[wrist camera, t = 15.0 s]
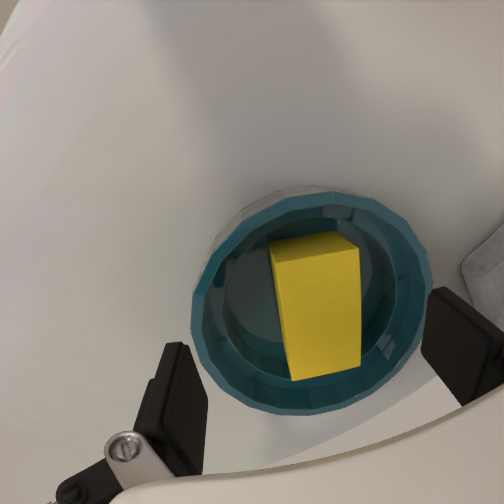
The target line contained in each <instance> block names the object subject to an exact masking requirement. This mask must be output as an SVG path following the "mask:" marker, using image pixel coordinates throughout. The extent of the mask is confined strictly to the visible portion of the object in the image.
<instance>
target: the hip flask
mask: <svg viewBox="0 0 504 504" xmlns="http://www.w3.org/2000/svg"><path fill="white" fill-rule="evenodd" d="M461 272H462V275H463V277H464V280H465V283H466V286H467V288H468V291H469V294H470V297H471V300H472V303H473V306H474V309H476V310H477V311H478V312H479V313H481V314H482V315H483V316H484V317H486V318H487V319H488V320H489V321H491V322H492V323H493V324H494V325H495V326H497V327H498V328H499V329H500V330H501V331H503V332H504V222H503V223H502V224H501V225H500V227H499V228H498V229H497V230H496V231H495V232H494V233H493V234H492V235H491V236H490V237H489V238H488V239H487V240H486V241H485V242H483V243H482V244H481V245H480V246H479V247H478V248H477V249H475V250H474V251H473V252H472V253H470V254H469V255H468V256H467V257H466V258H465V259H464V261H463V263H462V265H461Z"/></svg>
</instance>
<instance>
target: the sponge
mask: <svg viewBox="0 0 504 504" xmlns="http://www.w3.org/2000/svg"><path fill="white" fill-rule="evenodd" d="M268 247H269V254H270V260H271V266H272V273H273V279H274V286H275V292H276V299H277V305H278V312H279V318H280V325H281V332H282V339H283V345H284V349H285V353H286V358H287V362H288V366H289V371H290V375H291V379H292V381H297V380H302V379H307V378H312V377H316V376H321V375H325V374H330V373H334V372H338V371H342V370H346V369H350V368H354V367H358V366H360V362H361V280H360V259H359V248H358V247H356V246H355V245H353V244H352V243H351V242H349V241H348V240H346V239H345V238H344V237H342V236H341V235H339V234H338V233H337V232H335V231H329V232H323V233H317V234H311V235H305V236H299V237H294V238H288V239H282V240H276V241H270V242H268Z"/></svg>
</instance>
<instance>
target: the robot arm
mask: <svg viewBox="0 0 504 504" xmlns="http://www.w3.org/2000/svg"><path fill="white" fill-rule="evenodd" d="M421 353H422V356H423V357H424V358H425V360H426V361H427V362H428V363H429V364H430V366H431V367H432V368H433V369H434V371H435V372H436V373H437V375H438V376H439V377H440V378H441V380H442V381H443V382H444V383H445V385H446V386H447V387H448V389H449V390H450V391H451V393H452V394H453V395H454V397H455V398H456V399H457V401H458V402H459V403H460V404H461V406H462V407H461V408H459V409H457V410H455V411H453V412H451V413H449V414H447V415H445V416H443V417H440V418H438V419H436V420H434V421H432V422H430V423H427V424H425V425H423V426H420V427H418V428H416V429H413V430H410V431H408V432H405V433H403V434H400V435H398V436H395V437H392V438H390V439H386V440H384V441H381V442H378V443H375V444H372V445H368V446H365V447H362V448H359V449H355V450H352V451H348V452H344V453H341V454H337V455H333V456H329V457H325V458H321V459H317V460H312V461H308V462H302V463H297V464H291V465H286V466H280V467H273V468H267V469H260V470H251V471H243V472H233V473H221V474H208V475H202V471H203V459H204V446H205V434H206V423H207V412H208V398H207V394H206V392H205V389H204V387H203V384H202V381H201V379H200V376H199V373H198V371H197V368H196V365H195V362H194V360H193V357H192V354H191V351H190V348H189V346H188V345H184V344H183V343H182V342H172V343H166V345H165V348H164V351H163V354H162V357H161V360H160V363H159V366H158V369H157V372H156V375H155V378H154V379H150V380H149V382H148V385H147V388H146V391H145V394H144V397H143V400H142V403H141V406H140V409H139V412H138V415H137V418H136V421H135V424H134V428H133V431H123V432H120V433H117V434H115V435H114V436H112V437H111V438H110V439H109V440H108V441H107V442H106V445H105V447H104V455H105V458H104V459H102V460H101V461H99V462H97V463H95V464H94V465H92V466H90V467H88V468H87V469H85V470H83V471H81V472H79V473H77V474H76V475H74V476H72V477H70V478H68V479H66V480H65V481H63V482H62V483H61V484H60V485H59V486H58V488H57V491H56V502H55V503H54V504H504V332H503V331H501V330H500V329H499V328H498V327H497V326H495V325H494V324H493V323H492V322H491V321H489V320H488V319H487V318H486V317H484V316H483V315H482V314H481V313H479V312H478V311H477V310H476V309H474V308H473V307H472V306H470V305H469V304H468V303H467V302H465V301H464V300H463V299H461V298H460V297H459V296H457V295H456V294H455V293H453V292H452V291H451V290H449V289H448V288H447V287H445V286H443V287H440V288H436V289H433V290H432V291H431V293H430V294H429V295H428V299H427V308H426V317H425V324H424V331H423V338H422V344H421ZM48 504H53V503H52V502H49V503H48Z"/></svg>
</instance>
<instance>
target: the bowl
mask: <svg viewBox="0 0 504 504" xmlns="http://www.w3.org/2000/svg"><path fill="white" fill-rule="evenodd" d="M329 231H335V232H337V233H338V234H339V235H341V236H342V237H344V238H345V239H346V240H348V241H349V242H351V243H352V244H353V245H355V246H356V247H358V248H359V259H360V280H361V362H360V366H358V367H354V368H350V369H346V370H342V371H338V372H334V373H330V374H325V375H321V376H316V377H312V378H307V379H302V380H297V381H292V379H291V375H290V371H289V366H288V362H287V358H286V353H285V349H284V345H283V339H282V332H281V325H280V318H279V312H278V305H277V299H276V292H275V286H274V279H273V273H272V266H271V260H270V254H269V247H268V242H270V241H276V240H282V239H288V238H294V237H299V236H305V235H311V234H317V233H323V232H329ZM432 290H433V278H432V273H431V269H430V265H429V261H428V257H427V253H426V250H425V248H424V246H423V245H422V243H421V242H420V240H419V239H418V237H417V236H416V234H415V233H414V232H413V230H412V229H411V227H410V226H409V224H408V223H407V222H406V221H405V220H404V219H403V218H402V217H400V216H399V215H397V214H396V213H394V212H393V211H391V210H390V209H388V208H387V207H385V206H384V205H382V204H380V203H379V202H377V201H376V200H373V199H371V198H367V197H363V196H359V195H356V194H352V193H348V192H343V191H338V190H333V189H328V188H323V187H318V186H307V187H300V188H293V189H287V190H280V191H277V192H274V193H272V194H270V195H268V196H266V197H264V198H262V199H260V200H258V201H256V202H254V203H252V204H251V205H249V206H247V207H245V208H243V209H242V210H241V211H240V212H239V213H238V214H237V215H236V216H235V217H234V218H233V219H232V220H231V221H230V222H229V223H228V224H227V225H226V227H225V228H224V229H223V230H222V231H221V232H220V233H219V234H218V236H217V237H216V239H215V241H214V243H213V245H212V247H211V249H210V252H209V254H208V256H207V258H206V260H205V262H204V264H203V267H202V270H201V272H200V275H199V277H198V280H197V283H196V285H195V288H194V291H193V296H192V310H191V325H190V330H191V335H192V338H193V341H194V344H195V347H196V351H197V354H198V357H199V360H200V363H201V365H202V366H203V367H204V368H205V370H206V371H207V372H208V374H209V375H210V376H211V377H212V379H213V380H214V381H215V382H216V384H217V385H218V386H219V387H220V388H221V389H222V390H223V391H225V392H226V393H228V394H229V395H231V396H232V397H234V398H236V399H237V400H239V401H240V402H242V403H243V404H245V405H247V406H249V407H252V408H255V409H258V410H262V411H265V412H269V413H273V414H276V415H293V416H311V415H316V414H321V413H325V412H330V411H334V410H338V409H342V408H345V407H347V406H349V405H351V404H353V403H355V402H357V401H359V400H361V399H363V398H365V397H367V396H369V395H371V394H373V393H374V392H375V391H377V390H378V389H379V388H380V387H382V386H383V385H384V384H385V383H386V382H388V381H389V380H390V379H391V378H392V377H394V376H395V375H396V374H397V373H398V372H399V371H400V370H401V368H402V367H403V366H404V364H405V363H406V362H407V360H408V359H409V358H410V356H411V355H412V354H413V352H414V351H415V349H416V348H417V347H418V345H419V343H420V340H421V338H422V335H423V331H424V324H425V317H426V308H427V299H428V295H429V294H430V293H431V291H432Z"/></svg>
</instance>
